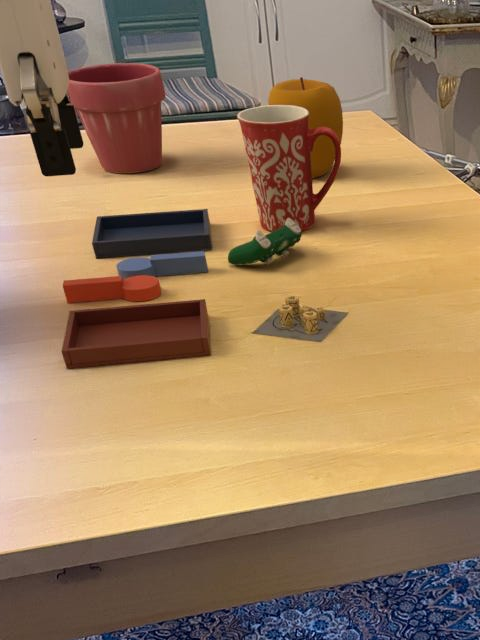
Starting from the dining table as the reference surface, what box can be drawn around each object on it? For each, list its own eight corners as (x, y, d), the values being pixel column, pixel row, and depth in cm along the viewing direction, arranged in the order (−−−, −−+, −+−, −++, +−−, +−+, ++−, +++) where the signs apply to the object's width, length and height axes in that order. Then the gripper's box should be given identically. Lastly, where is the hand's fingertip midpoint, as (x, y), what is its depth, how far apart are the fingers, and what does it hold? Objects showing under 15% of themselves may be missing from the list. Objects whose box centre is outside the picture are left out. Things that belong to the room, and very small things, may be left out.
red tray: (66, 369, 94) (61, 351, 93) (74, 327, 102) (69, 310, 100) (210, 355, 97) (207, 337, 96) (208, 315, 104) (205, 298, 103)
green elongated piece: (242, 284, 116) (264, 256, 111) (222, 257, 115) (243, 228, 110) (291, 261, 121) (313, 233, 117) (272, 235, 121) (294, 207, 116)
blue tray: (95, 258, 117) (91, 243, 116) (100, 231, 124) (96, 216, 123) (212, 249, 119) (209, 234, 118) (209, 223, 127) (207, 208, 125)
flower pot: (73, 161, 148) (49, 68, 139) (160, 148, 154) (142, 58, 145) (100, 184, 139) (76, 86, 130) (191, 169, 145) (174, 75, 136)
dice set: (315, 335, 101) (313, 317, 99) (272, 329, 102) (269, 311, 100) (333, 316, 104) (331, 299, 103) (291, 311, 105) (289, 294, 104)
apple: (362, 173, 144) (355, 77, 135) (306, 188, 138) (296, 89, 130) (316, 159, 150) (307, 66, 141) (261, 173, 144) (248, 77, 135)
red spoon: (66, 307, 106) (61, 290, 104) (69, 293, 109) (64, 275, 107) (161, 299, 107) (157, 282, 106) (161, 285, 111) (158, 268, 109)
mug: (246, 235, 123) (229, 121, 114) (260, 212, 130) (245, 103, 121) (342, 237, 123) (332, 123, 114) (351, 214, 130) (342, 105, 121)
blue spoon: (207, 263, 116) (204, 246, 115) (208, 276, 113) (205, 259, 111) (120, 270, 114) (115, 253, 113) (118, 283, 111) (114, 266, 109)
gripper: (-21, -52, 91) (36, 141, 103) (-54, -28, 79) (15, 189, 90) (59, -55, 92) (107, 136, 104) (40, -32, 80) (96, 183, 91)
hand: (64, 160), depth 97 cm, fingers open, 9 cm apart
